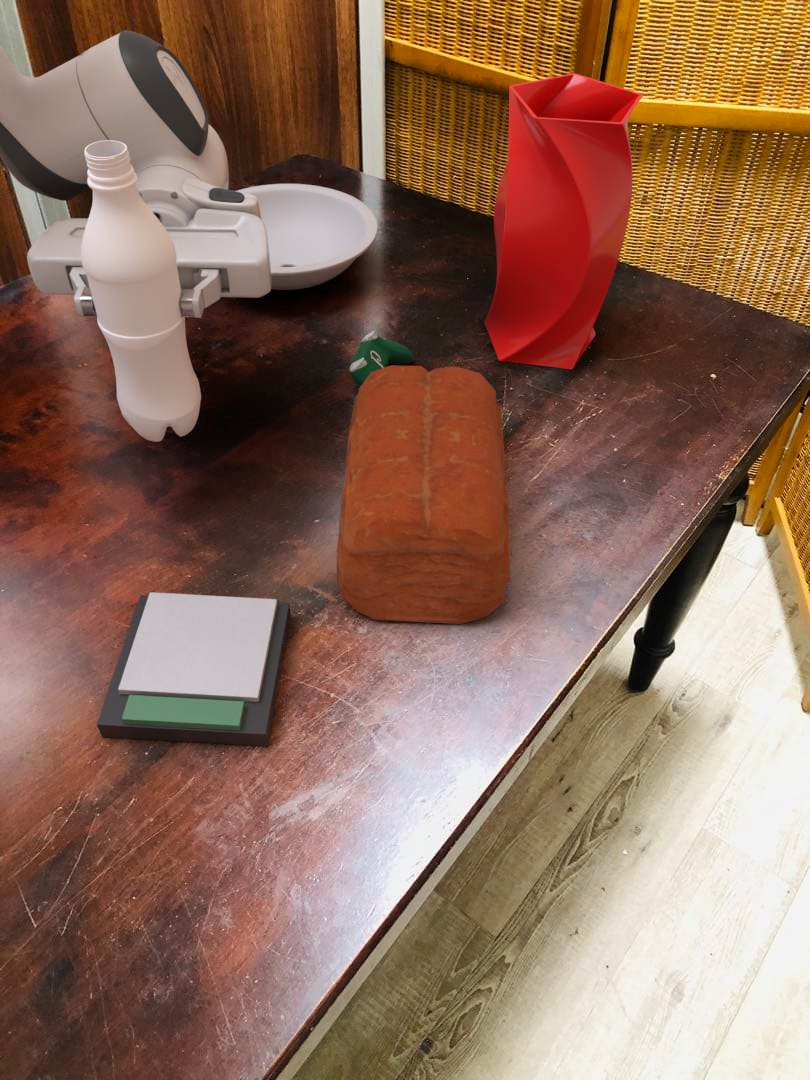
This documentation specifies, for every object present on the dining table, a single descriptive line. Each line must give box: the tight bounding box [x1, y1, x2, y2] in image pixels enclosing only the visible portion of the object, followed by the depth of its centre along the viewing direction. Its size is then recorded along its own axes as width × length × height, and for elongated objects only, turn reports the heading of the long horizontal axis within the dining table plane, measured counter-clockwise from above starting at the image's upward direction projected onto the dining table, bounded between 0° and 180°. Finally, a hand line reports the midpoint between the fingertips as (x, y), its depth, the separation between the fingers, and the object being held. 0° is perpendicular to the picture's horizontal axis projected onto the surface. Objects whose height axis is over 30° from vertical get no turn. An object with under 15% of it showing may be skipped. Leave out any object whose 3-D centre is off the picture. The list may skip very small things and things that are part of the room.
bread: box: [336, 365, 511, 625], centre depth 82 cm, size 16×27×11 cm, turn 178°
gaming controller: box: [349, 330, 414, 387], centre depth 101 cm, size 9×4×6 cm
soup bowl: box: [235, 183, 379, 291], centre depth 115 cm, size 24×24×7 cm
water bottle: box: [81, 140, 202, 443], centre depth 72 cm, size 7×7×25 cm
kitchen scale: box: [96, 591, 292, 747], centre depth 72 cm, size 13×13×2 cm
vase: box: [483, 72, 644, 370], centre depth 99 cm, size 15×14×28 cm
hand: (138, 309), depth 71 cm, fingers closed on water bottle, 7 cm apart
